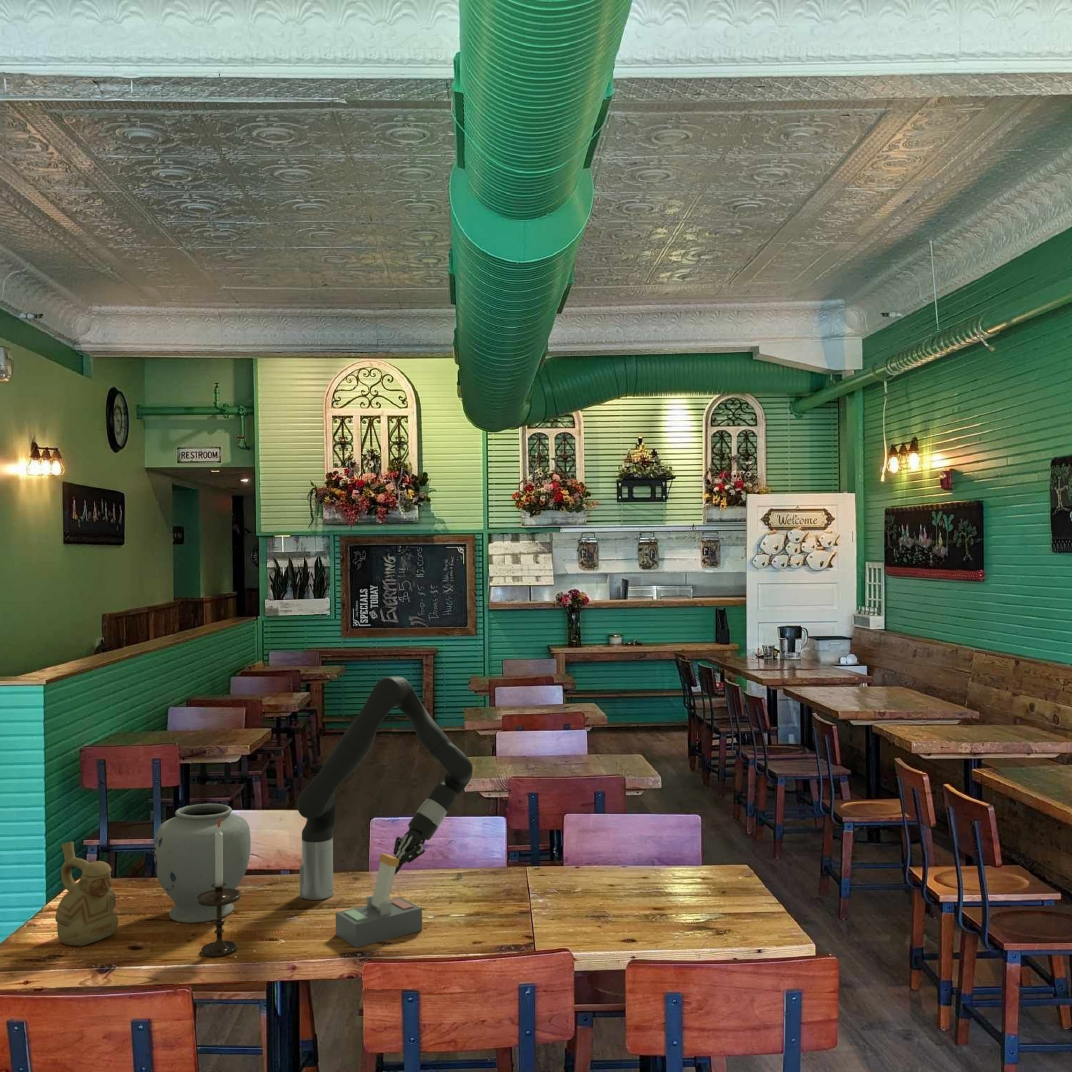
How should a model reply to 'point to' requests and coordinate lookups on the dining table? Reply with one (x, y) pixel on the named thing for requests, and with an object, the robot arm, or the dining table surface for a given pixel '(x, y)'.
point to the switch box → (378, 922)
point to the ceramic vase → (199, 858)
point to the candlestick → (219, 903)
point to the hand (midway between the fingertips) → (391, 872)
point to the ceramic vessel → (85, 901)
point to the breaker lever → (384, 879)
